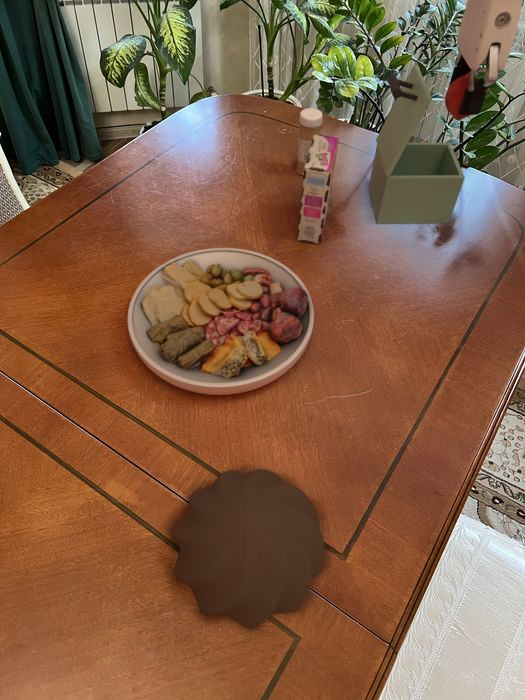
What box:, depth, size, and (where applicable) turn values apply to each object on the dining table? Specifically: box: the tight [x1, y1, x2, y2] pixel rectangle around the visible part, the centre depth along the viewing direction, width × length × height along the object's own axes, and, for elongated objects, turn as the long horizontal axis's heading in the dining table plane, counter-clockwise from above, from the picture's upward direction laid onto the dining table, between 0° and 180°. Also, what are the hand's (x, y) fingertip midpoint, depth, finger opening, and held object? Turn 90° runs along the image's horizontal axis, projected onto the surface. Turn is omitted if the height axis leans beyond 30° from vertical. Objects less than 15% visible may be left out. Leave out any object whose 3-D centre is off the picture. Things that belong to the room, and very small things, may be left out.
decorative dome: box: [172, 468, 326, 630], centre depth 70 cm, size 19×20×10 cm
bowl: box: [127, 247, 315, 396], centre depth 93 cm, size 30×30×8 cm
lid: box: [375, 63, 433, 176], centre depth 102 cm, size 15×12×5 cm
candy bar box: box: [296, 134, 340, 245], centre depth 107 cm, size 11×5×16 cm, turn 168°
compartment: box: [367, 142, 466, 225], centre depth 114 cm, size 15×12×11 cm
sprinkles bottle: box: [296, 107, 324, 177], centre depth 119 cm, size 5×5×13 cm
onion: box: [444, 71, 479, 121], centre depth 90 cm, size 6×6×8 cm
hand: (463, 101), depth 91 cm, fingers closed on onion, 5 cm apart
